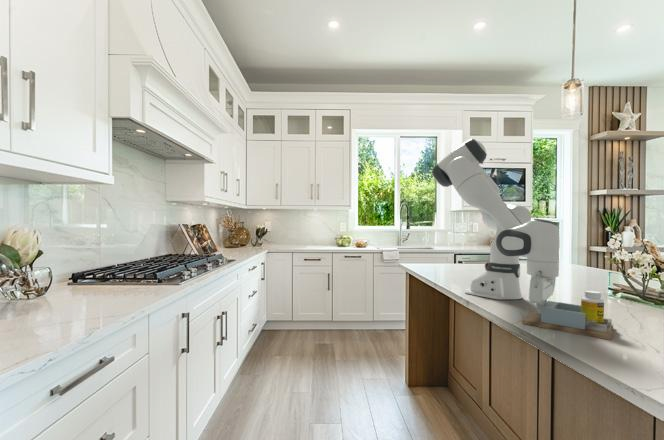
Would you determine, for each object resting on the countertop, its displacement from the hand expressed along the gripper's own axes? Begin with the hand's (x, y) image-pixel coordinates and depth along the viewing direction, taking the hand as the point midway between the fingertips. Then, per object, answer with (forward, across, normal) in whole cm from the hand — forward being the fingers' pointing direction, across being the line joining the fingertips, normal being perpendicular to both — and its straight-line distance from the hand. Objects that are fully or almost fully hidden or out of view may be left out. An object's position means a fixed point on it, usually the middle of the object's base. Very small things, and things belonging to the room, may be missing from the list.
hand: (541, 312), depth 115 cm
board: (+3, 0, -7) cm, 8 cm away
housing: (+2, 0, -6) cm, 7 cm away
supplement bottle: (+2, +1, -13) cm, 13 cm away
